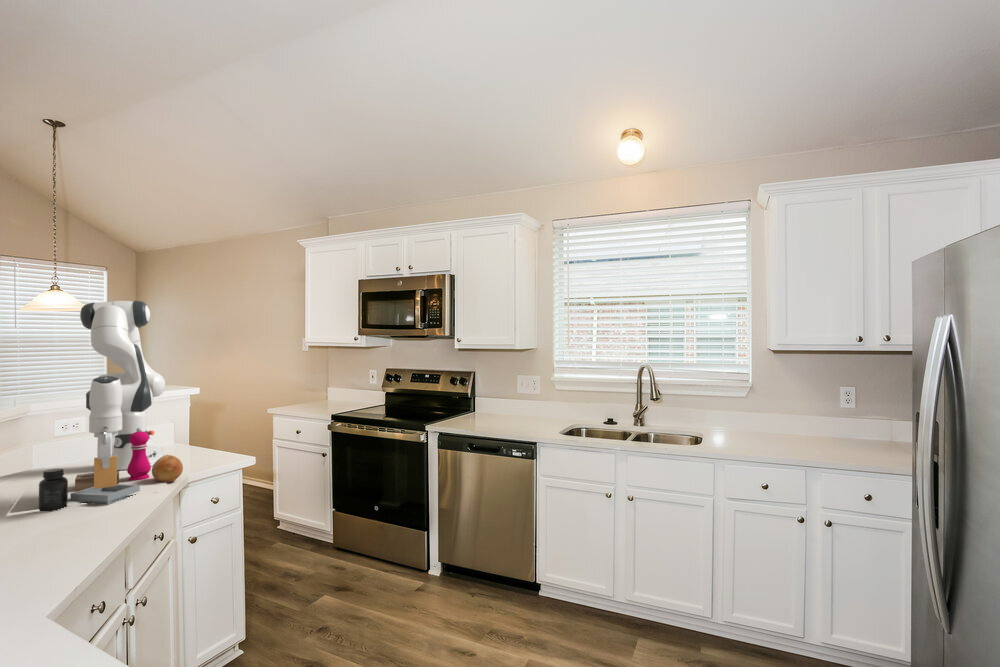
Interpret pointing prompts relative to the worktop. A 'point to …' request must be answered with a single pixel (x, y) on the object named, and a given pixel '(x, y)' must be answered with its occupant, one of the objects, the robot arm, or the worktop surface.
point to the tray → (105, 494)
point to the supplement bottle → (53, 490)
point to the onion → (167, 469)
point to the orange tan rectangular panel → (105, 473)
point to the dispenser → (87, 481)
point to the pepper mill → (139, 456)
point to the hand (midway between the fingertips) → (105, 467)
